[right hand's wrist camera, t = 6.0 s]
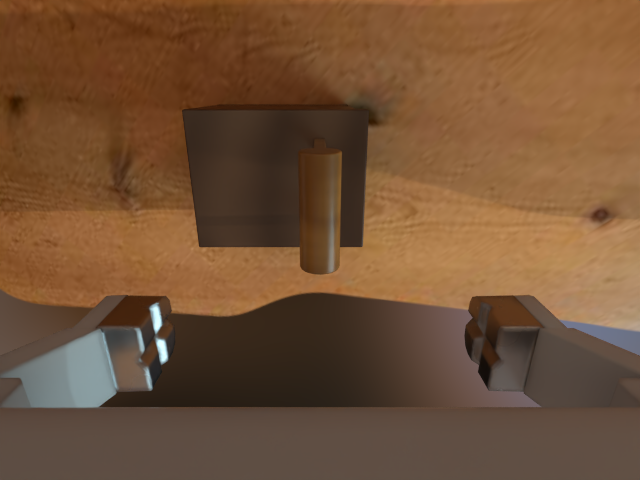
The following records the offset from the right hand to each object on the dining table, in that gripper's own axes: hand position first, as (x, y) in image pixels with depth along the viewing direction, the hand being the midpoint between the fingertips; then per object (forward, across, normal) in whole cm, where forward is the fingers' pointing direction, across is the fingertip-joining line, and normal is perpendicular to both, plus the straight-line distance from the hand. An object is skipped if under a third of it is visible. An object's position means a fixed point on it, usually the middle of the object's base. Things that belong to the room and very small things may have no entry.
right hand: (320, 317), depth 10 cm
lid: (+17, +3, 0) cm, 18 cm away
